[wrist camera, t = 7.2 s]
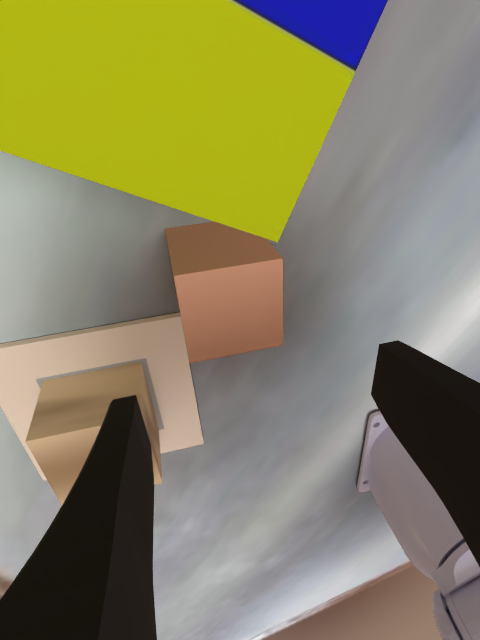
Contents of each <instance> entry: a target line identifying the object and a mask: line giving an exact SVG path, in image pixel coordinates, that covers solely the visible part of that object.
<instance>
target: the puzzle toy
mask: <svg viewBox="0 0 480 640" xmlns="http://www.w3.org/2000/svg"><path fill="white" fill-rule="evenodd" d="M387 1H388V0H0V151H3V152H6V153H9V154H12V155H15V156H18V157H21V158H24V159H27V160H30V161H33V162H36V163H39V164H42V165H45V166H48V167H51V168H54V169H57V170H60V171H63V172H66V173H69V174H73V175H76V176H79V177H82V178H85V179H88V180H91V181H94V182H97V183H100V184H103V185H106V186H109V187H112V188H115V189H118V190H121V191H124V192H127V193H130V194H133V195H136V196H139V197H142V198H145V199H148V200H151V201H154V202H157V203H160V204H163V205H166V206H169V207H172V208H175V209H178V210H181V211H184V212H187V213H190V214H193V215H196V216H199V217H202V218H205V219H208V220H211V221H214V222H217V223H220V224H224V225H227V226H230V227H233V228H236V229H239V230H242V231H245V232H248V233H251V234H254V235H257V236H260V237H263V238H266V239H269V240H272V241H275V242H278V240H279V238H280V236H281V234H282V232H283V229H284V227H285V225H286V223H287V221H288V218H289V216H290V214H291V212H292V210H293V207H294V205H295V203H296V201H297V199H298V196H299V194H300V192H301V190H302V188H303V186H304V183H305V181H306V179H307V177H308V175H309V172H310V170H311V168H312V166H313V164H314V161H315V159H316V157H317V155H318V153H319V150H320V148H321V146H322V144H323V142H324V139H325V137H326V135H327V133H328V131H329V128H330V126H331V124H332V122H333V120H334V117H335V115H336V113H337V111H338V109H339V106H340V104H341V102H342V100H343V98H344V95H345V93H346V91H347V89H348V87H349V84H350V82H351V80H352V78H353V76H354V73H355V71H356V69H357V67H358V65H359V62H360V60H361V58H362V56H363V54H364V51H365V49H366V47H367V45H368V43H369V40H370V38H371V36H372V34H373V32H374V29H375V27H376V25H377V23H378V21H379V18H380V16H381V14H382V12H383V10H384V8H385V5H386V3H387Z"/></svg>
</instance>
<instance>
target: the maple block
mask: <svg viewBox="0 0 480 640" xmlns="http://www.w3.org/2000/svg"><path fill="white" fill-rule="evenodd" d="M132 395H136V396H137V400H138V403H139V406H140V410H141V413H142V416H143V420H144V423H145V426H146V430H147V433H148V436H149V439H150V443H151V450H152V461H153V472H154V485H155V484H159V483H162V470H161V455H160V440H159V425H158V421H157V418H156V414H155V410H154V407H153V403H152V399H151V396H150V392H149V388H148V385H147V381H146V377H145V374H144V370H143V366H142V363H141V362H137V363H132V364H127V365H122V366H117V367H111V368H106V369H101V370H96V371H91V372H86V373H80V374H75V375H70V376H65V377H60V378H55V379H50V380H44V381H43V383H42V387H41V390H40V394H39V397H38V400H37V404H36V407H35V410H34V414H33V417H32V421H31V424H30V427H29V431H28V434H27V437H26V441H25V442H26V444H27V446H28V447H29V449H30V451H31V453H32V454H33V456H34V458H35V460H36V461H37V463H38V465H39V466H40V468H41V470H42V472H43V473H44V475H45V477H46V479H47V480H48V482H49V484H50V486H51V487H52V489H53V491H54V493H55V494H56V496H57V498H58V500H59V501H60V503H61V505H63V503H64V501H65V499H66V498H67V496H68V494H69V492H70V490H71V488H72V486H73V485H74V483H75V481H76V479H77V477H78V475H79V473H80V471H81V469H82V467H83V465H84V463H85V461H86V459H87V457H88V455H89V453H90V451H91V448H92V446H93V444H94V442H95V440H96V437H97V435H98V433H99V430H100V428H101V426H102V423H103V421H104V418H105V416H106V413H107V410H108V407H109V405H110V403H111V402H112V400H113V399H118V398H123V397H127V396H132Z"/></svg>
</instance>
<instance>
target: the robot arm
mask: <svg viewBox="0 0 480 640" xmlns="http://www.w3.org/2000/svg"><path fill="white" fill-rule="evenodd" d="M371 395H372V397H373V399H374V401H375V403H376V405H377V406H378V408H379V410H380V411H377V412H374V413H372V414H371V415H370V416H369V420H368V425H367V431H366V437H365V443H364V449H363V454H362V460H361V466H360V472H359V478H358V484H357V489H358V491H359V492H360V493H364V492H368V491H370V492H371V493H372V495H373V497H374V499H375V500H376V502H377V504H378V506H379V508H380V509H381V511H382V513H383V515H384V517H385V518H386V520H387V522H388V524H389V525H390V527H391V529H392V531H393V533H394V534H395V536H396V538H397V540H398V541H399V543H400V545H401V547H402V549H403V550H404V552H405V554H406V556H407V557H408V558H409V560H410V561H411V563H412V564H413V565H414V566H415V567H416V568H417V569H418V570H420V572H422V573H423V574H424V575H426V576H427V577H428V578H430V579H432V580H433V581H435V583H436V584H437V586H438V588H439V590H437V591H435V592H434V594H433V604H434V607H433V613H434V618H435V622H436V624H437V627H438V630H439V632H440V635H441V637H442V639H443V640H480V383H479V382H477V381H475V380H473V379H471V378H469V377H467V376H465V375H463V374H461V373H459V372H457V371H455V370H453V369H452V368H450V367H448V366H446V365H444V364H442V363H440V362H438V361H437V360H435V359H433V358H431V357H429V356H427V355H425V354H424V353H422V352H420V351H418V350H416V349H414V348H412V347H410V346H408V345H406V344H404V343H402V342H400V341H393V342H388V343H383V344H379V349H378V355H377V361H376V367H375V373H374V379H373V385H372V391H371ZM153 516H154V472H153V461H152V450H151V443H150V439H149V436H148V433H147V430H146V426H145V423H144V420H143V416H142V413H141V410H140V406H139V403H138V400H137V396H136V395H132V396H127V397H123V398H118V399H113V400H112V402H111V403H110V405H109V407H108V410H107V413H106V416H105V418H104V421H103V423H102V426H101V428H100V430H99V433H98V435H97V437H96V440H95V442H94V444H93V446H92V448H91V451H90V453H89V455H88V457H87V459H86V461H85V463H84V465H83V467H82V469H81V471H80V473H79V475H78V477H77V479H76V481H75V483H74V485H73V486H72V488H71V490H70V492H69V494H68V496H67V498H66V499H65V501H64V503H63V505H62V507H61V508H60V510H59V512H58V514H57V515H56V517H55V519H54V520H53V522H52V524H51V525H50V527H49V529H48V530H47V532H46V533H45V535H44V536H43V538H42V540H41V541H40V543H39V544H38V546H37V547H36V549H35V551H34V552H33V554H32V555H31V556H30V558H29V559H28V561H27V562H26V564H25V565H24V567H23V568H22V570H21V571H20V572H19V574H18V575H17V577H16V578H15V580H14V581H13V583H12V584H11V585H10V587H9V588H8V590H7V591H6V592H5V594H4V595H3V597H2V598H1V599H0V640H157V636H156V622H155V607H154V593H153Z"/></svg>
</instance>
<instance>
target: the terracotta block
mask: <svg viewBox="0 0 480 640" xmlns="http://www.w3.org/2000/svg"><path fill="white" fill-rule="evenodd" d="M165 233H166V238H167V244H168V249H169V255H170V260H171V266H172V271H173V277H174V282H175V288H176V293H177V299H178V304H179V309H180V315H181V320H182V325H183V331H184V336H185V341H186V347H187V352H188V357H189V362H190V363H194V362H200V361H205V360H210V359H215V358H220V357H225V356H230V355H235V354H240V353H245V352H250V351H255V350H260V349H265V348H271V347H276V346H281V345H283V258H282V257H281V256H280V254H279V253H278V252H277V251H276V249H275V248H274V247H273V245H272V244H271V243H270V242H269V240H268V239H266V238H263V237H260V236H257V235H254V234H251V233H248V232H245V231H242V230H239V229H236V228H233V227H230V226H227V225H224V224H220V223H217V222H209V223H202V224H195V225H188V226H181V227H174V228H167V229H165Z"/></svg>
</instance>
